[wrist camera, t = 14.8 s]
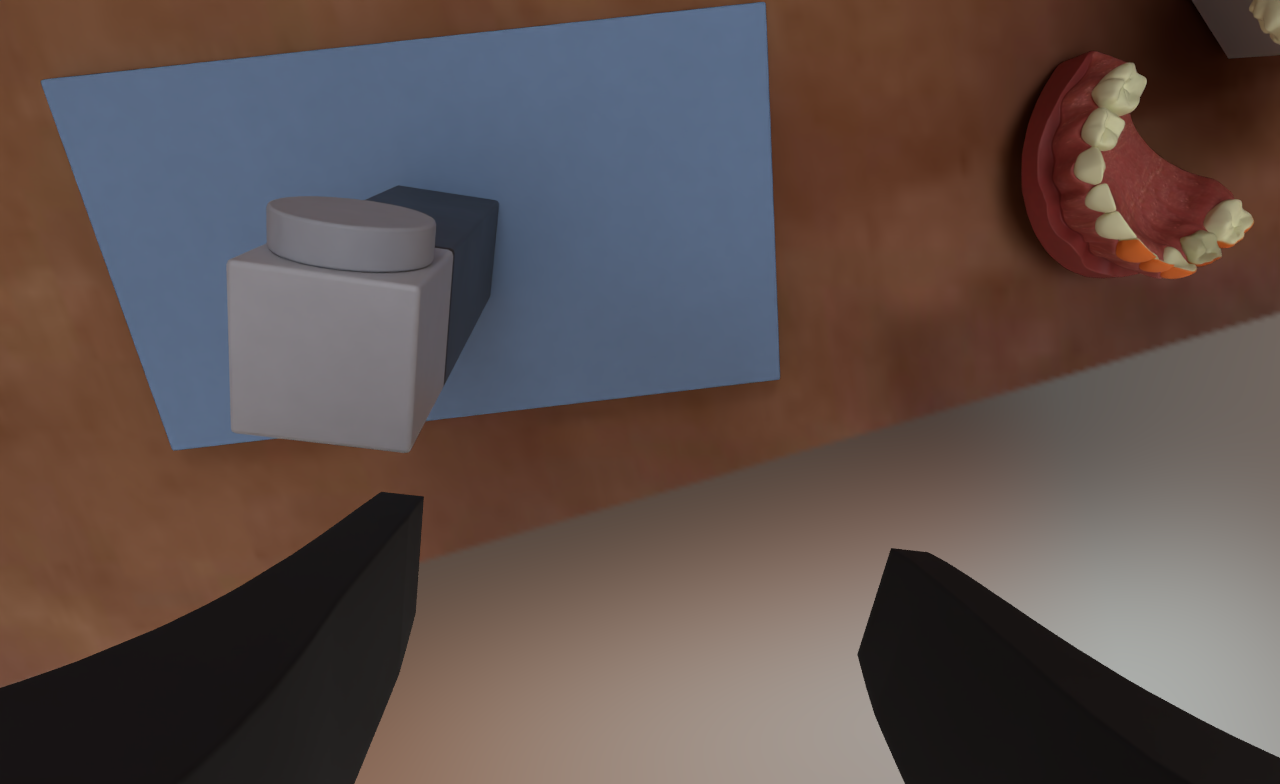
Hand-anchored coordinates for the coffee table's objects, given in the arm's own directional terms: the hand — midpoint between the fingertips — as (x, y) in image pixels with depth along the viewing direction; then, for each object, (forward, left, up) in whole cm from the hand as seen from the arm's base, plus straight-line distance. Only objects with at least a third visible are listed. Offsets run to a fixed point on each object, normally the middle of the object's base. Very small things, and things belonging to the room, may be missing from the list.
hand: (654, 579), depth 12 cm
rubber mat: (-4, +4, -9) cm, 11 cm away
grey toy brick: (-4, +4, -9) cm, 11 cm away
